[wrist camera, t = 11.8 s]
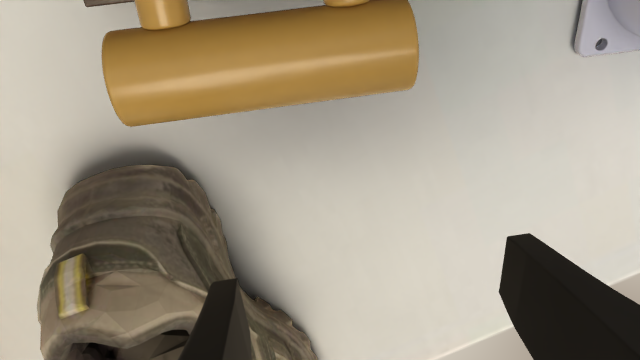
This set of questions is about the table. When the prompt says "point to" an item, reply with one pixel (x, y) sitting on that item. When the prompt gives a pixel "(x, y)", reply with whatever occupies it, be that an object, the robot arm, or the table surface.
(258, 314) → the hiking shoe
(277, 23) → the picture frame
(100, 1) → the frame stand
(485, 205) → the table surface
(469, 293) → the table surface
